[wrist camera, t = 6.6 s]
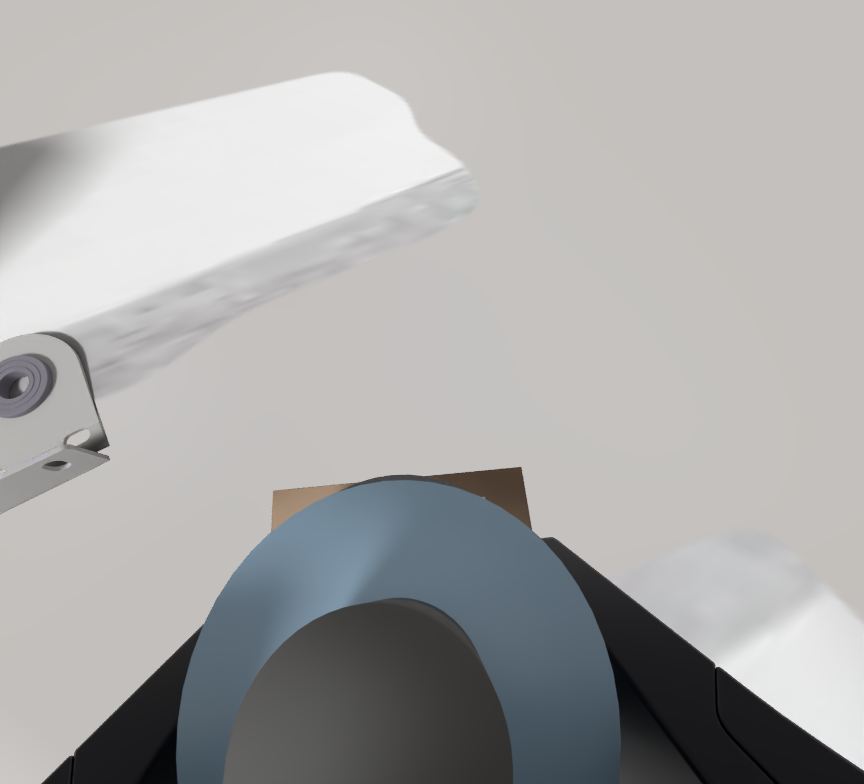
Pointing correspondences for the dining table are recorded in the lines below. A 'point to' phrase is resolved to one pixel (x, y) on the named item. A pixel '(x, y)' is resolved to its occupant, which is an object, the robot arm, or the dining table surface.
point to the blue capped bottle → (400, 653)
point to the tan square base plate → (488, 484)
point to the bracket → (44, 419)
